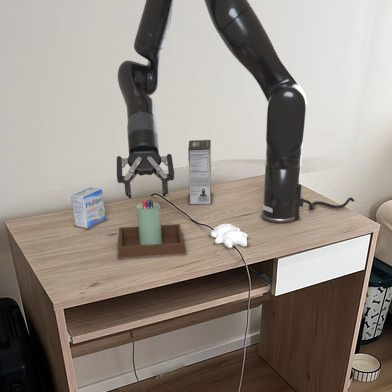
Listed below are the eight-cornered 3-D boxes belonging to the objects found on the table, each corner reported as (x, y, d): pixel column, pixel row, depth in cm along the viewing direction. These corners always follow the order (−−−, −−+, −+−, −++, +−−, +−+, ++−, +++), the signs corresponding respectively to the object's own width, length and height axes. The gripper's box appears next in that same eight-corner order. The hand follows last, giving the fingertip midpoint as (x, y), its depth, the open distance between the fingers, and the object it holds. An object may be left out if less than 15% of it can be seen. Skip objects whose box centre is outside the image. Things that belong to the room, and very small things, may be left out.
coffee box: (190, 194, 167) (188, 139, 158) (211, 193, 167) (210, 139, 157) (189, 204, 159) (187, 148, 150) (211, 204, 159) (211, 147, 150)
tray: (180, 234, 141) (179, 223, 140) (184, 254, 131) (183, 243, 129) (120, 237, 140) (119, 227, 139) (119, 258, 130) (118, 247, 128)
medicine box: (87, 229, 145) (82, 197, 141) (75, 226, 147) (70, 194, 143) (106, 219, 151) (102, 188, 146) (94, 216, 153) (90, 186, 148)
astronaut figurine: (218, 250, 133) (218, 238, 131) (207, 231, 142) (207, 220, 140) (253, 246, 134) (253, 235, 132) (240, 228, 144) (240, 217, 142)
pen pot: (161, 239, 138) (158, 194, 131) (162, 248, 133) (159, 202, 127) (139, 240, 138) (135, 195, 131) (140, 250, 133) (136, 203, 126)
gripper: (113, 129, 133) (117, 190, 130) (170, 126, 134) (176, 187, 131) (115, 145, 140) (119, 204, 137) (170, 143, 141) (175, 201, 138)
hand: (147, 196), depth 134 cm, fingers open, 8 cm apart
